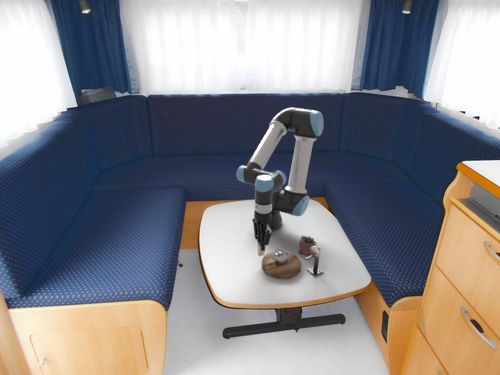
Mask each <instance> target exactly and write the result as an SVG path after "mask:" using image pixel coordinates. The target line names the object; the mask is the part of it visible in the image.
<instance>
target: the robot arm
mask: <svg viewBox="0 0 500 375" xmlns="http://www.w3.org/2000/svg"><path fill="white" fill-rule="evenodd" d="M323 116H324V115H323V114H322V112H320V110H319V111H318V110H314V109H309V108H308V109H305V108H300V107H294V106H293V107H292V106H291V107H287V108H285V109H282V110H280V111H279V112H277V114H276V115H275V116H274V117H272V119H271V121H270V122H269V124H268V129H267V131H266V133H265V134H264V136H263V137H262V140H260V143H259V144H258V146H257V148H256V149H255V150H254V152H253V155H251V158H250V159H249V161H248V162H247V164H246V165H243V164H242V165H240V166H239V167H238V168H237V170H236V179H237V180H238V182H242V183H244V184H249V185H252V186H254V209H253V210H254V212H253V213H254V214H253V217H254V218H252V219H251V220H252V223H253V232H254V233H253V234H254V239H255V240H256V241H257V256H258V257H262V256H263V257H264V256H265V251H266V246H268V245H269V244H270V240H271V237H272V233H274V231H275V230H278V229H279V228H281V227H282V226H283V218H282V215H281V213H284V214H288V215H291V216H294V217H301V216H303V215H304V214H305V212H306V210H307V208H308V206H309V203H310V196H308V195H307V194H308V193H307V192H308V190H307V189H306V188H305V187H306V183H307V178H308V171H309V166H310V160H311V155H312V151H313V150H312V149H313V146H314V142H315V141H317V139H318V137H319V136H322V133H323V131H324V117H323ZM289 131H290V132H293V136H294V138H295V143H294V149H293V150H294V151H293V154H292V155H293V156H292V162H291V167H290V173H289V178H288V183H287V182H286V181H287V176H286V174H285V173H284V172H283V171H282V170H274V171H272V172H271V171H268V170H264V168H265V166H266V165H267V163H268V161H269V160H270V158H271V156H272V154H273V153H274V151H275V149H276V148H277V146H278V143H279V142H280V141H281V139H282V137H283V136H285V135H286V134H287V132H289ZM286 183H287V185H286V186H285V187H284V189H282V188H283V186H284V185H285V184H286Z"/></svg>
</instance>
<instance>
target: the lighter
mask: <svg viewBox="0 0 500 375" xmlns="http://www.w3.org/2000/svg"><path fill="white" fill-rule="evenodd" d="M298 246H299V247H298V251H297V253H299V254H298V255H301V256H303V255H304V257H308V256H311V255H312V254H311V252H310V248H311V247H312V246H317V242H316V241H315V238H314V237H311V236H310V235H308V236H305V235H301V237H300V239H299V245H298Z"/></svg>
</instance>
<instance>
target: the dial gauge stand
mask: <svg viewBox="0 0 500 375" xmlns="http://www.w3.org/2000/svg"><path fill="white" fill-rule="evenodd" d="M310 252H311V254H312V255H311V256H309V257H308V256H305V257H304V260H305V261H307V260H309V259H312V258H314V259H313V260H314V261H313V266H312V267H310V268H307V272H308V273H309V272H310V273H309V274H310V275H312V276H313V277H314V278H316V277H319V275H322V274H324V271H323V270H321V269H320V268H319V262H320V256H321V248H320V247H318V246H317V245H316V246H312V247H311V248H310Z"/></svg>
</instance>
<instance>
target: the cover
mask: <svg viewBox="0 0 500 375" xmlns="http://www.w3.org/2000/svg"><path fill="white" fill-rule="evenodd" d="M288 252H289V251H287V250H285V249H282V248H277V249H274V250H273V258H272V260H273V259H274V260H275V261H276V265H279V266H282V265H285V264H287V261H288Z"/></svg>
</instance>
